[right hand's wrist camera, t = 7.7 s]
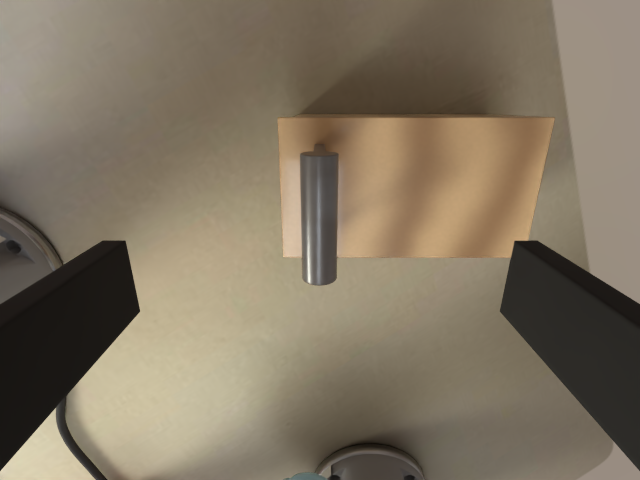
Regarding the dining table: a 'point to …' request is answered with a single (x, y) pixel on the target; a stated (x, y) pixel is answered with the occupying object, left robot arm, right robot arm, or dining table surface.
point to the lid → (407, 187)
